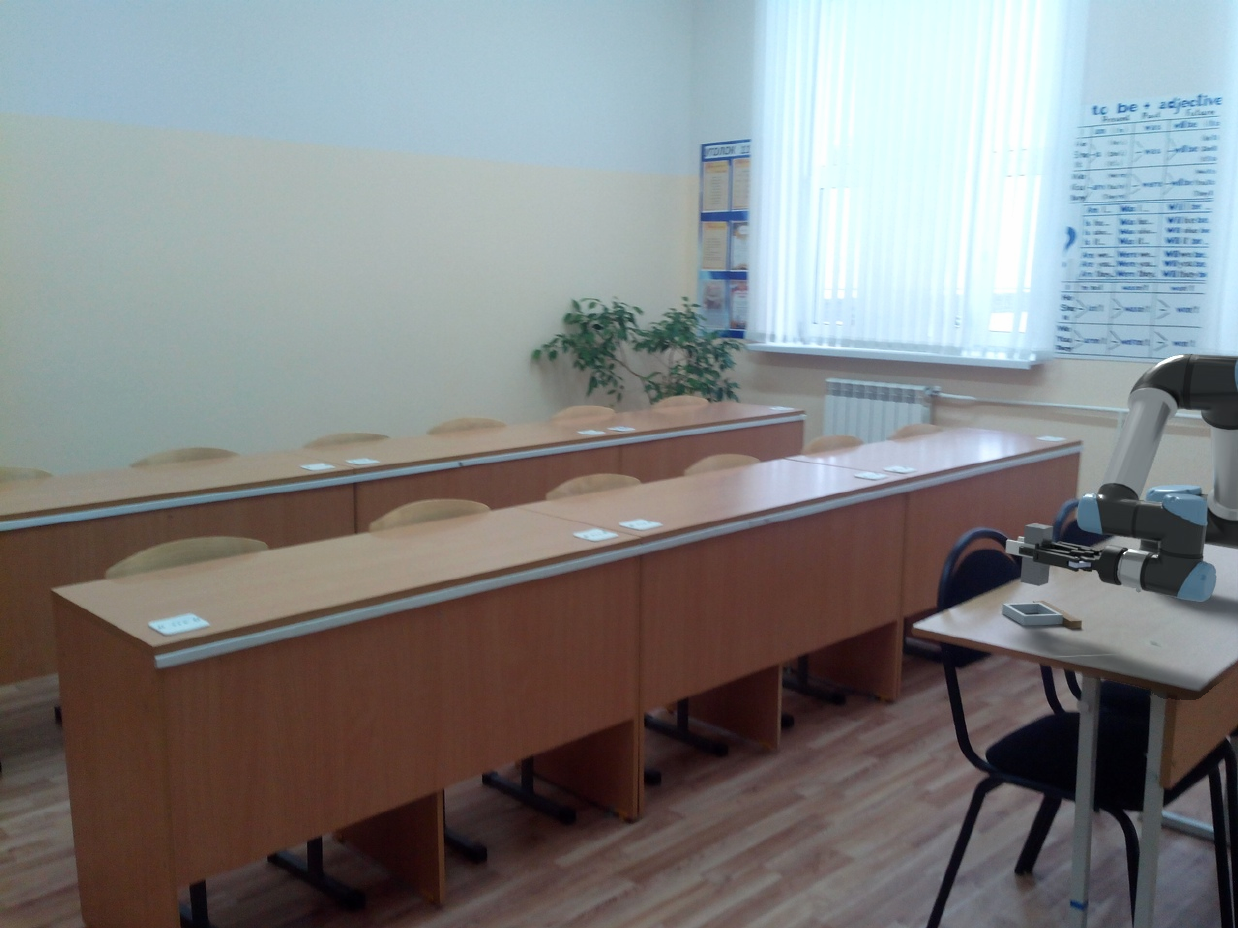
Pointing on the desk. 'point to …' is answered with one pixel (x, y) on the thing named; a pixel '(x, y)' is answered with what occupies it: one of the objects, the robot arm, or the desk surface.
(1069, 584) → the desk surface
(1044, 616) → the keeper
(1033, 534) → the bar
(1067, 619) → the sill strip
